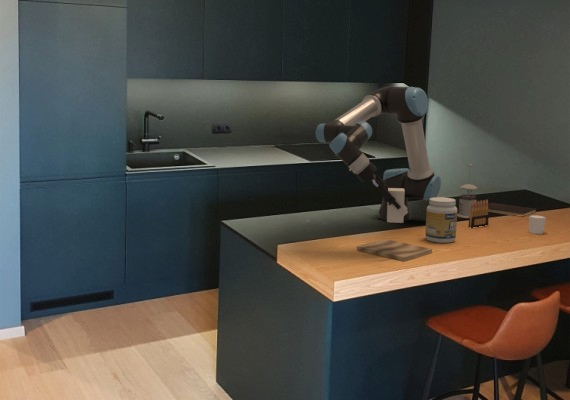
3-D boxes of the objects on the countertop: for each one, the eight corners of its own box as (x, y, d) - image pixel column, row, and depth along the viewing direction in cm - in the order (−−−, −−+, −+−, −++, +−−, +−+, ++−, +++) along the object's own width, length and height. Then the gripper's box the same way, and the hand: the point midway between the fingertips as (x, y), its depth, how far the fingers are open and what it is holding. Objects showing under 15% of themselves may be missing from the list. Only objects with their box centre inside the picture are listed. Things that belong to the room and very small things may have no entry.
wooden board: (356, 250, 273) (356, 246, 273) (385, 242, 286) (385, 238, 285) (404, 261, 258) (404, 257, 258) (431, 252, 270) (432, 248, 270)
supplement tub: (449, 245, 282) (452, 203, 279) (420, 241, 289) (422, 200, 286) (459, 239, 293) (462, 198, 290) (431, 235, 299) (433, 195, 296)
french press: (455, 216, 336) (457, 164, 332) (458, 212, 347) (461, 161, 342) (476, 218, 333) (479, 165, 328) (479, 214, 343) (482, 162, 338)
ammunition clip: (471, 228, 312) (473, 201, 310) (468, 227, 314) (469, 200, 312) (488, 225, 318) (490, 199, 316) (485, 225, 320) (486, 198, 317)
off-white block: (387, 222, 267) (388, 190, 265) (386, 218, 273) (388, 188, 271) (403, 222, 266) (404, 191, 264) (402, 219, 272) (404, 188, 270)
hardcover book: (522, 218, 338) (522, 213, 337) (477, 211, 353) (477, 206, 352) (536, 213, 349) (536, 208, 349) (492, 207, 364) (492, 202, 364)
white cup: (536, 235, 301) (537, 218, 300) (524, 231, 307) (525, 215, 306) (548, 233, 304) (549, 217, 303) (535, 230, 310) (537, 214, 309)
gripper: (356, 171, 277) (397, 214, 278) (354, 178, 259) (398, 224, 260) (370, 158, 276) (411, 201, 277) (370, 164, 257) (414, 210, 258)
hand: (405, 212), depth 268 cm, fingers closed on off-white block, 6 cm apart
